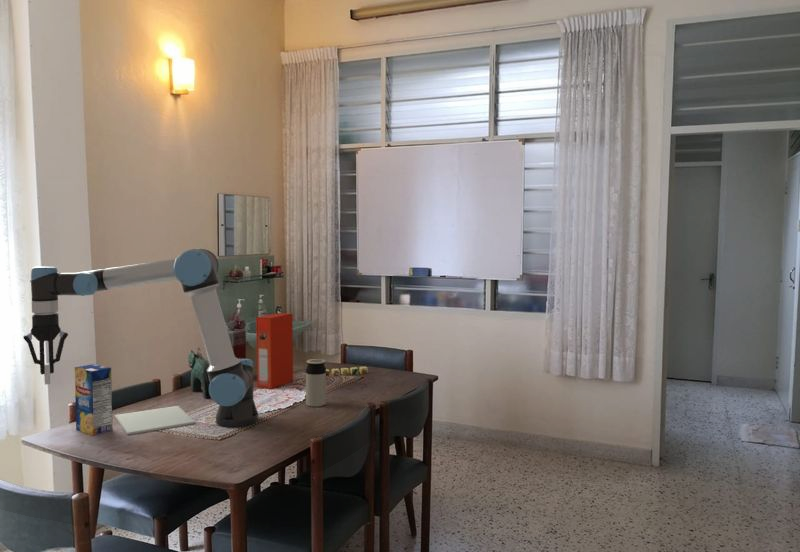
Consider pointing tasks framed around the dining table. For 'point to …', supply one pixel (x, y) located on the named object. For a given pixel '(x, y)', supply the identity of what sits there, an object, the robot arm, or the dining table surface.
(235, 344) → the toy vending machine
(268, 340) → the file binder
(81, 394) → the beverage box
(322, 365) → the travel mug
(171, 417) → the board
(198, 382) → the green animal figurine
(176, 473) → the dining table surface
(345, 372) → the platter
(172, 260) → the robot arm
